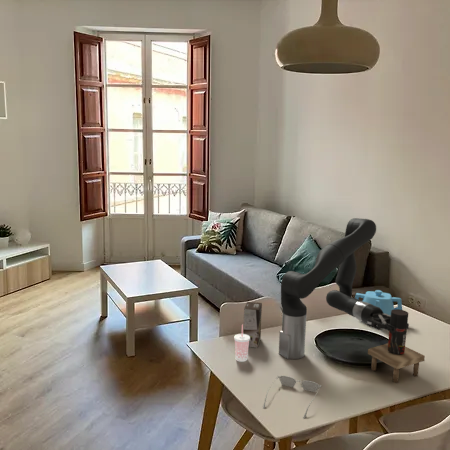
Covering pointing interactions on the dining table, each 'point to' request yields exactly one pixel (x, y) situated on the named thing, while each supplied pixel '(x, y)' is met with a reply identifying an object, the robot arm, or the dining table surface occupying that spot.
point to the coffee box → (253, 322)
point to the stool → (395, 359)
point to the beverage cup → (241, 346)
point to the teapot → (380, 300)
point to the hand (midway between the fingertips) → (401, 328)
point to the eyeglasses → (291, 382)
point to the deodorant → (398, 332)
